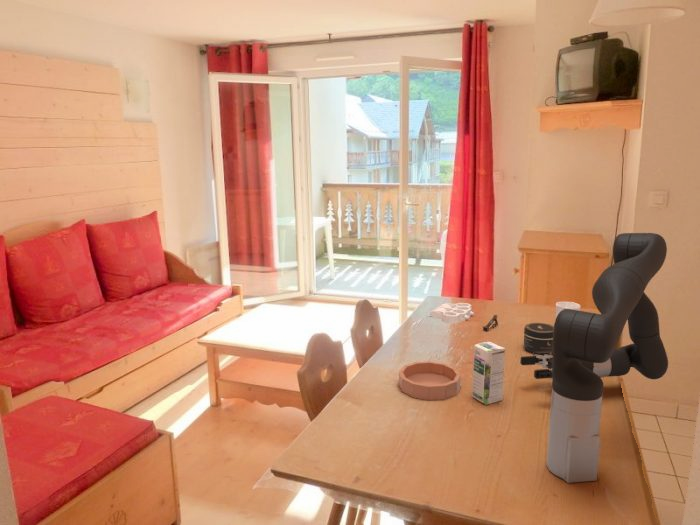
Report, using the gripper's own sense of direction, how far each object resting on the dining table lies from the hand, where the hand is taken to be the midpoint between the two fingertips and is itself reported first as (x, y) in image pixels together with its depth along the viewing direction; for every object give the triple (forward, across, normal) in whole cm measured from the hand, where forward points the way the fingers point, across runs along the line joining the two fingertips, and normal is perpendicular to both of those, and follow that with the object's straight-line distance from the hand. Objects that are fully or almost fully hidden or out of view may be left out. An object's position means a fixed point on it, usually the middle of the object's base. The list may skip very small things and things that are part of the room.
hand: (527, 367), depth 141 cm
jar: (-18, -30, +8) cm, 36 cm away
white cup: (-34, -44, +8) cm, 56 cm away
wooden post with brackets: (-9, -52, +8) cm, 53 cm away
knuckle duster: (0, -68, +9) cm, 68 cm away
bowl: (+24, -9, +8) cm, 26 cm away
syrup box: (+10, 0, +8) cm, 13 cm away
